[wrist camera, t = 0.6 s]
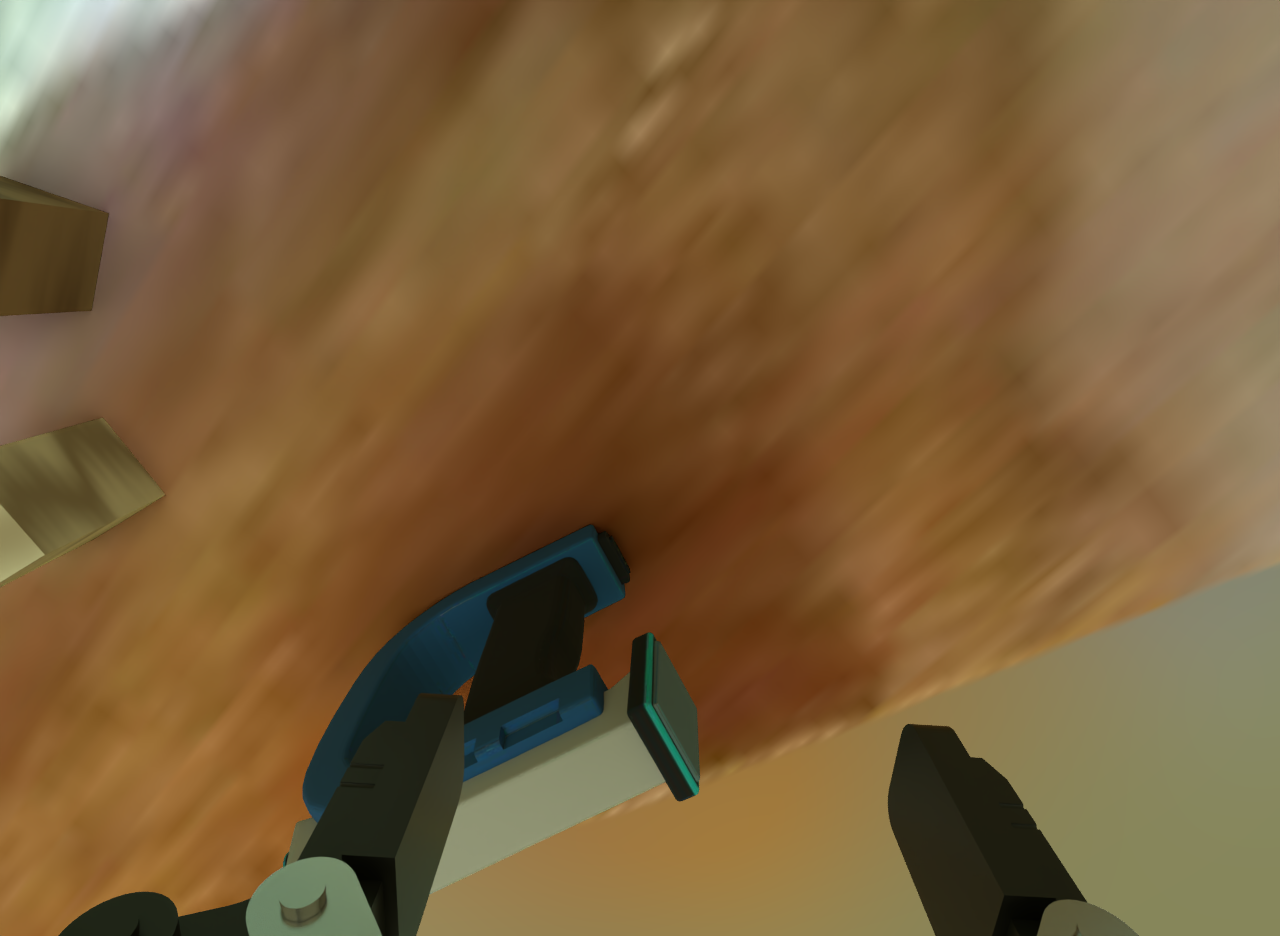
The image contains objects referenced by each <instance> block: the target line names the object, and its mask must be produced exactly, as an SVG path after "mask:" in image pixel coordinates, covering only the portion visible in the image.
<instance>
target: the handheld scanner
mask: <svg viewBox="0 0 1280 936" xmlns="http://www.w3.org/2000/svg"><path fill="white" fill-rule="evenodd" d="M629 573H630V568H629V566H628V565H627V563H626V561H625V559H624V557H623V555H622V553H621V552H620V550H619V548H618V546H617V544H616V542H615V541H614V539H613V537H612V536H610V537H609V535H608V533H607V532H606V531H604V532H602V533H600V534H598V533H597V531H596V529H595V528H594V526H593V525H588V526H586V527H584V528H582V529H580V530H578V531H576V532H574V533H572V534H570V535H568V536H566V537H564V538H562V539H560V540H558V541H556V542H553V543H551V544H549V545H547V546H545V547H543V548H541V549H539V550H537V551H535V552H533V553H531V554H529V555H527V556H525V557H523V558H521V559H519V560H517V561H515V562H513V563H511V564H509V565H507V566H505V567H503V568H501V569H499V570H496V571H494V572H492V573H490V574H488V575H486V576H484V577H482V578H480V579H478V580H476V581H474V582H472V583H470V584H468V585H466V586H464V587H463V588H461V589H459V590H457V591H456V592H454V593H452V594H451V595H449V596H448V597H446V598H444V599H443V600H441V601H440V602H438V603H437V604H435V605H434V606H432V607H431V608H429V609H428V610H427V611H425V612H424V613H422V614H421V615H420V616H418V617H417V618H416V619H414V620H413V621H412V622H411V623H409V624H408V625H407V626H405V627H404V628H403V629H402V630H401V631H400V632H399V633H397V634H396V635H395V636H394V637H393V638H392V639H391V640H389V641H388V642H387V643H386V645H385V646H384V647H383V648H382V649H381V650H380V651H379V652H378V653H377V654H376V655H375V656H374V657H373V659H372V660H371V661H370V662H369V663H368V665H367V666H366V667H365V668H364V670H363V671H362V673H361V674H360V675H359V677H358V678H357V680H356V681H355V683H354V684H353V686H352V687H351V689H350V691H349V692H348V694H347V695H346V697H345V699H344V700H343V702H342V703H341V705H340V707H339V708H338V710H337V712H336V714H335V715H334V717H333V719H332V720H331V722H330V724H329V726H328V728H327V730H326V731H325V733H324V735H323V737H322V739H321V741H320V742H319V744H318V747H317V749H316V751H315V753H314V756H313V758H312V760H311V762H310V765H309V767H308V769H307V771H306V775H305V779H304V783H303V800H304V802H305V804H306V807H307V809H308V811H309V813H310V814H311V816H312V818H309V819H306V820H303V821H299V822H297V823H296V826H295V830H294V834H293V838H292V842H291V846H290V851H289V852H288V853H287V854H286V856H285V858H284V861H283V867H285V866H287V865H289V864H291V863H294V862H296V861H297V860H298V858H299V856H300V855H301V853H302V851H303V849H304V847H305V845H306V844H307V842H308V840H309V838H310V836H311V834H312V833H313V831H314V829H315V827H316V825H317V823H318V822H319V820H320V818H321V816H322V814H323V812H324V811H325V809H326V807H327V805H328V803H329V801H330V799H331V798H332V796H333V794H334V792H335V790H336V788H337V787H339V786H340V781H341V779H342V777H343V776H344V774H345V772H346V770H347V768H348V767H350V764H351V761H352V759H353V757H354V755H355V754H356V752H357V750H358V748H359V746H360V744H361V743H362V741H363V739H365V738H366V737H367V736H368V735H369V734H370V733H372V732H373V731H374V730H375V729H376V728H378V727H379V726H380V725H381V724H382V723H383V722H385V721H401V722H405V721H406V719H407V717H408V715H409V713H410V711H411V709H412V707H413V705H414V703H415V700H416V698H417V697H418V695H419V694H420V693H429V694H446V695H453V693H454V692H455V691H456V690H458V689H459V688H460V687H461V686H462V685H463V684H464V683H465V682H466V681H468V680H469V679H470V678H471V677H473V676H474V679H473V682H472V685H471V689H470V692H469V695H468V699H467V703H466V706H465V710H464V777H463V785H462V790H461V795H460V800H459V803H458V806H457V810H456V813H455V816H454V819H453V822H452V825H451V828H450V831H449V834H448V838H447V841H446V844H445V847H444V850H443V853H442V856H441V859H440V863H439V866H438V869H437V872H436V875H435V878H434V881H433V884H432V888H431V891H430V894H431V893H433V892H435V891H438V890H440V889H442V888H444V887H446V886H448V885H450V884H452V883H454V882H456V881H459V880H461V879H463V878H465V877H467V876H469V875H471V874H473V873H475V872H477V871H480V870H482V869H484V868H486V867H488V866H490V865H492V864H494V863H496V862H498V861H500V860H503V859H505V858H507V857H509V856H511V855H513V854H515V853H517V852H520V851H522V850H524V849H526V848H528V847H530V846H532V845H534V844H536V843H538V842H541V841H543V840H545V839H547V838H549V837H551V836H553V835H555V834H557V833H559V832H562V831H564V830H566V829H568V828H570V827H572V826H574V825H576V824H578V823H580V822H583V821H585V820H587V819H589V818H591V817H593V816H595V815H597V814H599V813H601V812H604V811H606V810H608V809H610V808H612V807H614V806H616V805H618V804H620V803H622V802H625V801H627V800H629V799H631V798H633V797H635V796H637V795H639V794H641V793H644V792H646V791H648V790H650V789H652V788H654V787H656V786H658V785H660V784H662V783H665V782H666V783H667V785H668V786H669V788H670V790H671V792H672V793H673V795H674V797H675V799H676V800H677V801H683V800H686V799H688V798H690V797H692V796H695V795H697V794H698V792H699V780H700V770H699V748H698V725H697V708H696V706H695V705H694V703H693V701H692V699H691V697H690V696H689V694H688V692H687V690H686V688H685V686H684V685H683V683H682V681H681V679H680V677H679V675H678V674H677V672H676V670H675V668H674V666H673V664H672V663H671V661H670V659H669V657H668V655H667V653H666V652H665V650H664V648H663V646H662V644H661V643H660V642H659V641H656V639H655V637H654V635H653V634H652V633H646V634H644V635H642V636H639V637H637V638H635V639H634V640H633V643H632V655H631V667H630V672H629V673H628V674H627V675H626V676H625V677H624V678H623V679H621V680H620V681H619V682H618V683H617V684H616V685H615V686H613V687H612V688H611V689H609V690H608V689H607V687H606V685H605V684H604V682H603V680H602V678H601V677H600V675H599V673H598V672H597V670H596V668H595V667H594V666H593V665H588V666H586V667H584V668H582V669H579V670H577V667H578V665H579V661H580V656H581V651H582V643H583V631H584V618H585V617H587V616H589V615H591V614H593V613H595V612H597V611H599V610H601V609H603V608H605V607H607V606H609V605H611V604H613V603H615V602H617V601H619V600H621V599H623V598H624V597H625V586H624V584H625V583H627V582H629V581H630V576H629ZM576 670H577V671H576Z"/></svg>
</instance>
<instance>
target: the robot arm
mask: <svg viewBox="0 0 1280 936" xmlns="http://www.w3.org/2000/svg"><path fill="white" fill-rule="evenodd" d="M463 777H464V703H463V697H462V696H461V695H446V694H429V693H420V694H419V695H418V697H417V698H416V700H415V703H414V705H413V707H412V709H411V711H410V713H409V715H408V717H407V719H406V721H405V722H401V721H385V722H383V723H382V724H381V725H380V726H379V727H378V728H376V729H375V730H374V731H373V732H372V733H370V734H369V735H368V736H367V737H366V738H365V739H363V741H362V743H361V744H360V746H359V748H358V750H357V752H356V754H355V755H354V757H353V759H352V761H351V764H350V767H348V768H347V770H346V772H345V774H344V776H343V777H342V779H341V781H340V786H339V787H337V788H336V790H335V792H334V794H333V796H332V798H331V799H330V801H329V803H328V805H327V807H326V809H325V811H324V812H323V814H322V816H321V818H320V820H319V822H318V823H317V825H316V827H315V829H314V831H313V833H312V834H311V836H310V838H309V840H308V842H307V844H306V845H305V847H304V849H303V851H302V853H301V855H300V856H299V858H298V860H297V861H296V862H294V863H291V864H289V865H287V866H285V867H283V868H281V869H280V870H278V871H276V872H275V873H273V874H272V875H271V876H270V877H268V878H267V879H266V880H265V881H264V882H263V883H262V884H261V885H260V886H259V887H258V889H257V890H256V891H255V893H254V894H253V896H252V898H250V899H248V900H245V901H243V902H240V903H237V904H233V905H229V906H225V907H221V908H216V909H212V910H207V911H203V912H198V913H194V914H189V915H185V916H180V917H178V913H177V908H176V906H175V905H174V903H173V902H172V901H171V900H170V899H169V898H168V897H166V896H164V895H162V894H158V893H155V892H135V893H130V894H125V895H121V896H118V897H115V898H112V899H110V900H107V901H105V902H103V903H101V904H99V905H97V906H95V907H93V908H91V909H90V910H88V911H87V912H85V913H84V914H82V915H81V916H79V917H78V918H77V919H75V920H74V921H73V922H72V923H71V924H69V925H68V926H67V927H66V928H65V929H64V930H63V931H62V932H61V933H60V935H59V936H416V934H417V931H418V928H419V925H420V922H421V919H422V915H423V912H424V909H425V906H426V903H427V900H428V897H429V894H430V891H431V888H432V884H433V881H434V878H435V875H436V872H437V869H438V866H439V863H440V859H441V856H442V853H443V850H444V847H445V844H446V841H447V838H448V834H449V831H450V828H451V825H452V822H453V819H454V816H455V813H456V810H457V806H458V803H459V800H460V795H461V790H462V785H463ZM888 812H889V819H890V823H891V827H892V830H893V833H894V835H895V838H896V840H897V842H898V845H899V847H900V850H901V852H902V855H903V857H904V860H905V862H906V865H907V867H908V869H909V872H910V874H911V877H912V879H913V882H914V884H915V886H916V889H917V891H918V894H919V896H920V899H921V901H922V904H923V906H924V909H925V911H926V913H927V916H928V918H929V921H930V923H931V926H932V928H933V930H934V933H935V935H936V936H1139V935H1138V934H1137V933H1136V932H1134V931H1133V930H1132V929H1131V928H1130V927H1129V926H1128V925H1127V924H1125V923H1124V922H1123V921H1121V920H1120V919H1119V918H1117V917H1116V916H1114V915H1113V914H1111V913H1109V912H1107V911H1106V910H1104V909H1101V908H1099V907H1097V906H1095V905H1092V904H1089V903H1087V901H1086V900H1085V898H1084V897H1083V895H1082V894H1081V892H1080V891H1079V889H1078V888H1077V886H1076V884H1075V883H1074V881H1073V880H1072V878H1071V877H1070V875H1069V874H1068V872H1067V871H1066V869H1065V868H1064V866H1063V865H1062V863H1061V861H1060V860H1059V858H1058V857H1057V855H1056V854H1055V852H1054V851H1053V849H1052V848H1051V846H1050V845H1049V843H1048V841H1047V840H1046V838H1045V837H1044V836H1043V834H1042V832H1041V831H1040V830H1037V827H1036V823H1035V821H1034V820H1033V818H1032V817H1031V815H1030V814H1029V812H1028V811H1027V810H1026V809H1024V808H1023V803H1022V802H1021V800H1020V799H1019V797H1018V795H1017V794H1016V792H1015V791H1014V789H1013V788H1012V786H1011V785H1010V783H1009V782H1008V780H1007V779H1006V778H1005V777H1003V776H1002V775H1001V774H1000V773H999V772H998V771H996V770H995V769H994V768H993V767H992V766H991V765H990V764H988V763H987V762H986V761H985V760H983V759H982V758H973V757H970V756H969V754H968V753H967V751H966V749H965V748H964V746H963V744H962V743H961V741H960V740H959V738H958V736H957V734H956V733H955V731H954V730H953V729H952V728H950V727H947V726H932V725H915V724H907V725H906V726H905V727H904V728H903V731H902V734H901V738H900V742H899V747H898V751H897V756H896V760H895V765H894V769H893V774H892V778H891V783H890V787H889V794H888Z"/></svg>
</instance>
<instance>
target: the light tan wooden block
mask: <svg viewBox="0 0 1280 936" xmlns="http://www.w3.org/2000/svg"><path fill="white" fill-rule="evenodd" d="M108 215H109V213H106V212H103V211H100V210H98V209H95V208H92V207H89V206H86V205H83V204H80V203H77V202H74V201H71V200H69V199H66V198H63V197H60V196H57V195H54V194H51V193H48V192H45V191H43V190H40V189H37V188H34V187H31V186H28V185H25V184H22V183H19V182H17V181H14V180H11V179H8V178H5V177H2V176H0V316H7V315H24V314H41V313H58V312H75V311H91V310H92V304H93V299H94V293H95V288H96V282H97V276H98V271H99V265H100V260H101V254H102V248H103V243H104V237H105V232H106V226H107V220H108Z"/></svg>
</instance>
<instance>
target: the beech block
mask: <svg viewBox="0 0 1280 936" xmlns="http://www.w3.org/2000/svg"><path fill="white" fill-rule="evenodd" d="M163 496H165V494H164V492H163V491H162V490H161V489H160V487H159V486H158V485H157V484H156V482H155V481H154V480H153V479H152V477H151V476H150V475H149V474H148V473H147V471H146V470H145V469H144V468H143V466H142V465H141V464H140V463H139V461H138V460H137V459H136V458H135V457H134V455H133V454H132V453H131V452H130V450H129V449H128V448H127V447H126V445H125V444H124V443H123V442H122V441H121V439H120V438H119V437H118V436H117V434H116V433H115V432H114V431H113V429H112V428H111V427H110V426H109V424H108V423H107V422H106V421H105V420H104V418H100V419H96V420H92V421H89V422H85V423H82V424H78V425H74V426H71V427H67V428H63V429H60V430H56V431H53V432H49V433H45V434H42V435H38V436H34V437H31V438H27V439H24V440H20V441H16V442H13V443H9V444H5V445H2V446H0V587H2V586H4V585H6V584H8V583H10V582H12V581H13V580H15V579H17V578H19V577H21V576H23V575H25V574H27V573H29V572H31V571H33V570H35V569H37V568H39V567H41V566H43V565H45V564H47V563H49V562H50V561H52V560H54V559H56V558H58V557H60V556H62V555H64V554H66V553H68V552H70V551H72V550H74V549H76V548H78V547H80V546H82V545H84V544H86V543H87V542H89V541H91V540H93V539H95V538H96V537H98V536H100V535H101V534H103V533H104V532H106V531H108V530H109V529H111V528H113V527H114V526H116V525H117V524H119V523H121V522H122V521H124V520H126V519H127V518H129V517H130V516H132V515H134V514H135V513H137V512H139V511H140V510H142V509H143V508H145V507H147V506H148V505H150V504H152V503H153V502H155V501H156V500H158V499H160V498H161V497H163Z"/></svg>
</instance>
